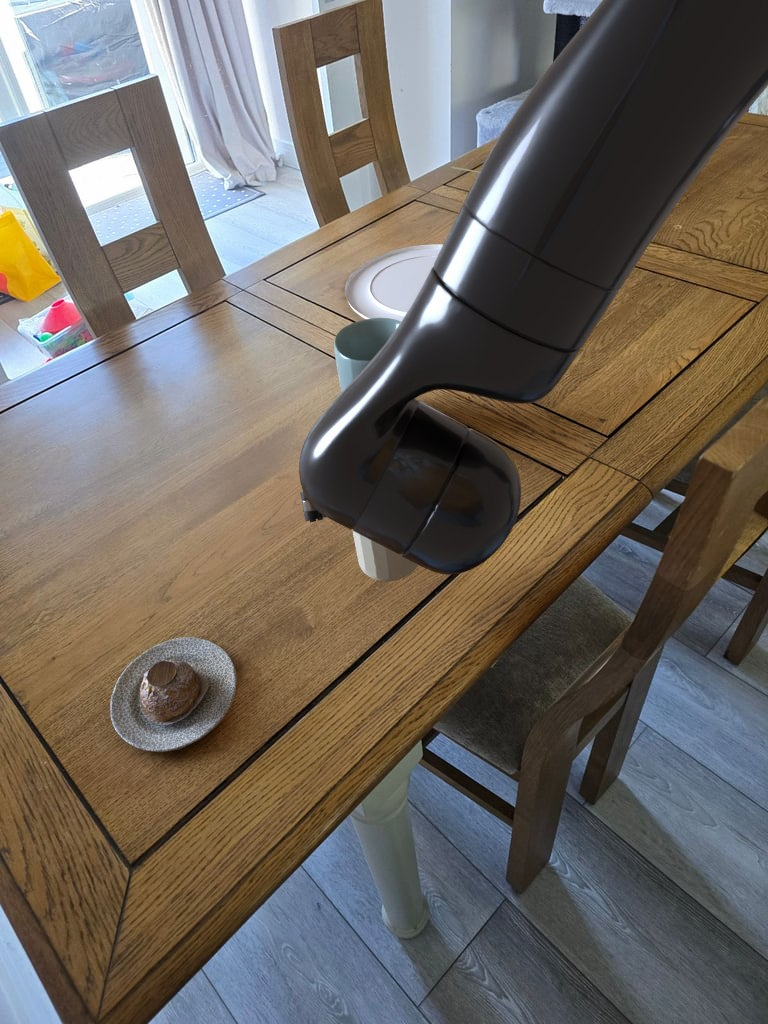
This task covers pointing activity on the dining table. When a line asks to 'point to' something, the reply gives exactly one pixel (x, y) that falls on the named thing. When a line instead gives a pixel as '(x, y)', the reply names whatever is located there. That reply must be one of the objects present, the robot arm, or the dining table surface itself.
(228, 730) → the dining table surface
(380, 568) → the white faceted vase
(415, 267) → the plate
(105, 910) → the dining table surface
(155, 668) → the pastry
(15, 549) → the dining table surface
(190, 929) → the dining table surface
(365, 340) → the cup
